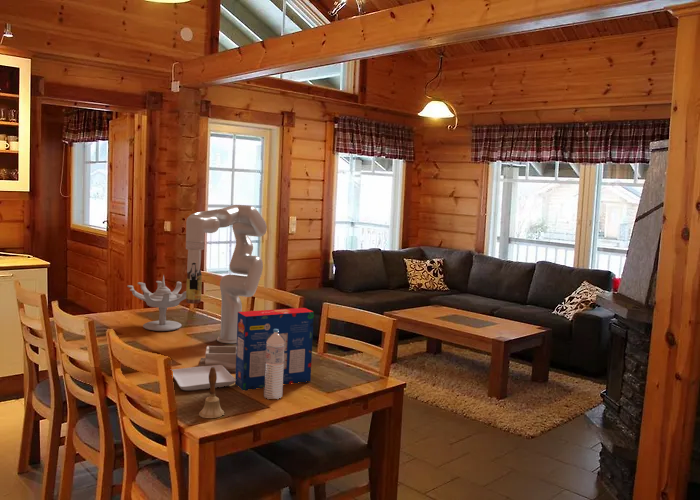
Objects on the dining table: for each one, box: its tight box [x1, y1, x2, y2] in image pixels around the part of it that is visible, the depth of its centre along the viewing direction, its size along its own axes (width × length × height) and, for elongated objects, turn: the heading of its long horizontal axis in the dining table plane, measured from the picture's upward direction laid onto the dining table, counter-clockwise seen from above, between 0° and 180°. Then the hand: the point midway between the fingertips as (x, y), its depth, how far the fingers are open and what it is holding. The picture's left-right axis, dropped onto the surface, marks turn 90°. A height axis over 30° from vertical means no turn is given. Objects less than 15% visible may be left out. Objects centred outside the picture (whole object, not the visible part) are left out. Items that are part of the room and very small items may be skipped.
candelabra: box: [127, 274, 186, 332], centre depth 320 cm, size 34×35×27 cm
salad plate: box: [171, 365, 236, 391], centre depth 242 cm, size 21×21×3 cm
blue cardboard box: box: [234, 307, 315, 391], centre depth 244 cm, size 28×8×28 cm, turn 121°
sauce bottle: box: [185, 263, 203, 305], centre depth 271 cm, size 7×6×20 cm
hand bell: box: [198, 367, 225, 419], centre depth 210 cm, size 8×8×16 cm
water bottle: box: [263, 329, 285, 400], centre depth 229 cm, size 7×7×25 cm
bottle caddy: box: [198, 345, 237, 374], centre depth 263 cm, size 18×18×7 cm
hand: (194, 287), depth 271 cm, fingers closed on sauce bottle, 6 cm apart
